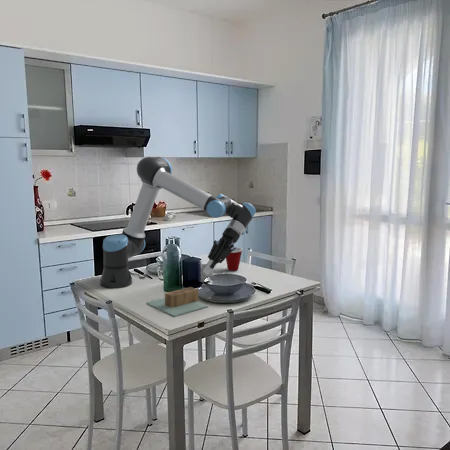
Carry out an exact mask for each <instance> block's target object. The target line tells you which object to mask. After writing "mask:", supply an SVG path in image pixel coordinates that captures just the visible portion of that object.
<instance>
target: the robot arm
mask: <svg viewBox="0 0 450 450" xmlns="http://www.w3.org/2000/svg"><path fill="white" fill-rule="evenodd" d="M136 165H137V166H136V172H137V176H138V178H139V179H140V181H141V183H142V185H141V187H140V191H139V193H138V195H137V199H136V202H135V205H134V207H133V210H132V213H131V215H130V219H129V222H128V225H127V226H125V227H124V228H123V229H122V231H121V234H114V235H108V236H106V237H105V238H103V241H102V242H103V243H102V252H103V257H102V258H103V270H102V274H101V277H100V279H99V280H100V281H99V285H100V286H101V287H103V288H108V289H109V288H110V289H117V288H119V289H120V288H125V287H128V286H130V285H132V284H133V277H132V275H131V271H130V269H129V259H131V258H133V257H135V256H138V255H140V254H141V253H142V252H143V251H144V249H145V247H146V240H145V238H146V233H145V230H146V227H147V224H148V223H149V222H148V221H149V218H150V216H151V213H152V210H153V207H154V204H155V201H156V200H157V196H158V195H159V192H160V190H162V189H163V190H165V191H167V192H168V193H170V194H172V195H174V196H177V197H178V198H180V199H182V200H184V201H186V202H188V203H189V204H192V206H193V205H194V206H195V207H197V208H199V209H200V210H203V211H204V212H206V213H207V214H208V216H210V217H211V218H214V219H215V218H221V217H223V216H225V215H226V216H227V217H229V218H230V219H231V220H230V222H229V223H228V225H227V227H225V229H224V231H222V236H221V237H220V238H219V240H216V239H215V240H213V245H212V247H211V250H210V251H209V253H208V255H207V258H208V259H209V260H208V262H207V263H206V264H207V265H206V267H205V269H204V270H203V272H204V273H205V274H206V275H209V273H210V272H211V270H212V269H213V268H214V269H215V267H216V266H217V264H222V263H223V262H224V261H226V257H227V256H228V255H229V254H230V253H231V252H232V251H233V250H235V249H236V246H235V243H237V242H238V240H239V239H240V237H241V236H242V234H243V233H244V231H245V230H246V228H247V227H248V226H249V224H250V223H251V221H252V220H253V218H254V216H255V214H256V213H257V212H256V210H257V209H256V207H255V206H254V205H253V204H251V203H249V202H243V203H241V204H240V203H238V202H236V201H235V200H233V199H231V198H230V197H228V196H227V195H225V194H222V193H219V194H217V195H216V196H214V195H212V194H210V193H208V192H206V191H204V190H202V189H200V188H198V187H197V186H195V185H192V184H191V183H189V182H187V181H185V180H183V179H181V178H179V177H177V176H175V175H174V174H172V173H173V167H172V164H171V162H170V161H169V160H168V159H166V158H164V157H160V156H154V157H153V156H146V157H143V158H141V159H140V160H139V162H138V163H137V164H136Z"/></svg>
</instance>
